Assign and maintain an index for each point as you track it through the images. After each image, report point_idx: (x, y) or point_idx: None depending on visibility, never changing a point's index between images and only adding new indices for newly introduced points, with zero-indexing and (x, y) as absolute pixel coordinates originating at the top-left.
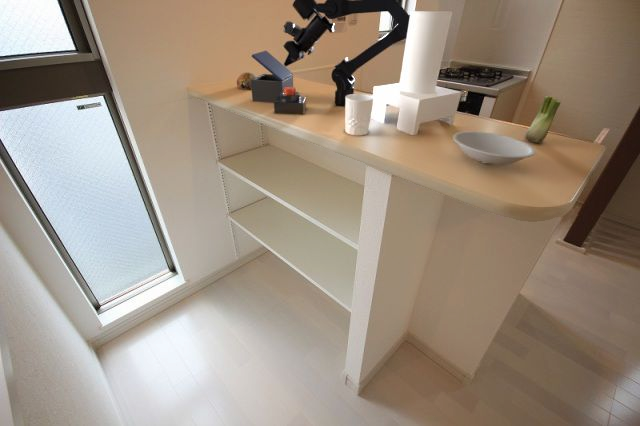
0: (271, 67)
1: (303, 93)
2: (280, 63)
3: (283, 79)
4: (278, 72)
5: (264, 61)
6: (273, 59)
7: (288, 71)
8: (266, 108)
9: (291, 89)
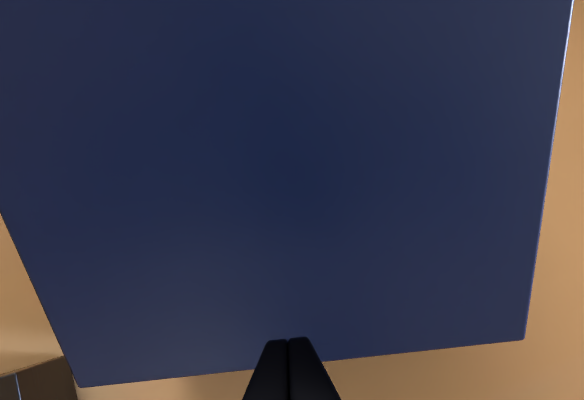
0: (96, 189)
1: (574, 350)
2: (520, 136)
3: (138, 376)
4: (160, 288)
5: (54, 38)
6: (451, 16)
7: (466, 298)
8: (13, 276)
9: None
